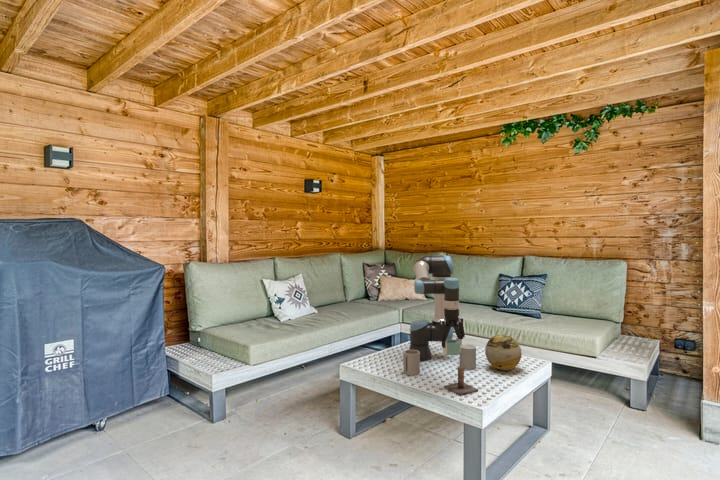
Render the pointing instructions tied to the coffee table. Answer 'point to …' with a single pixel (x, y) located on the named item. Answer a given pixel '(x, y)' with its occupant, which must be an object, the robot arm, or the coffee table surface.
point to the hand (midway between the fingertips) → (451, 352)
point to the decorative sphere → (503, 352)
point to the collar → (453, 347)
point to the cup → (411, 362)
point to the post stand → (461, 385)
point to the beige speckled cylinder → (468, 357)
